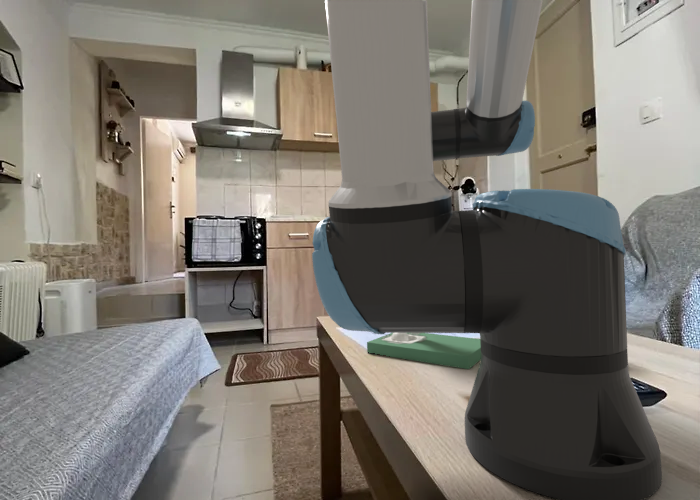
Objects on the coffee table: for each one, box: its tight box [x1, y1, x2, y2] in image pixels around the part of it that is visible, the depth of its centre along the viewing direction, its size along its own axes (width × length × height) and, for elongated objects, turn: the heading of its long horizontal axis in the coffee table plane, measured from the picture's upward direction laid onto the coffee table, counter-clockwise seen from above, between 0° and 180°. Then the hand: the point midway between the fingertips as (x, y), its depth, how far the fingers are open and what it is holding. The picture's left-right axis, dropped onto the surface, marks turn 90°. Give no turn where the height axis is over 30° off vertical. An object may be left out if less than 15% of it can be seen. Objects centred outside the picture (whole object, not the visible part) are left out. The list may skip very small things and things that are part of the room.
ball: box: [391, 333, 409, 341], centre depth 70 cm, size 4×4×4 cm
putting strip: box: [366, 333, 481, 370], centre depth 67 cm, size 12×19×2 cm, turn 53°
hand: (417, 332), depth 68 cm, fingers closed
